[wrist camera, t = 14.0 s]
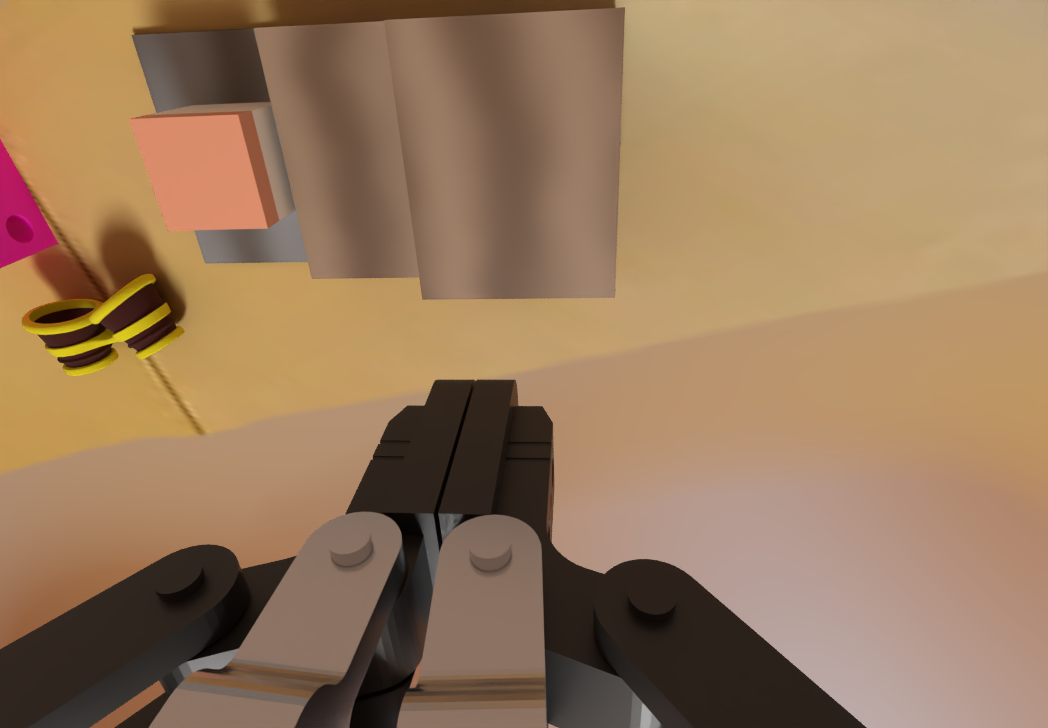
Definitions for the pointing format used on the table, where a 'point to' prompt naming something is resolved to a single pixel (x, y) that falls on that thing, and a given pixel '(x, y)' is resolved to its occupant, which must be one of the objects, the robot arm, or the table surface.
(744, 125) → the table surface
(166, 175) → the cube
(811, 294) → the table surface
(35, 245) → the magenta clamp bracket
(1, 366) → the table surface
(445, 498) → the robot arm
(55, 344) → the opera glasses
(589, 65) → the stair block
